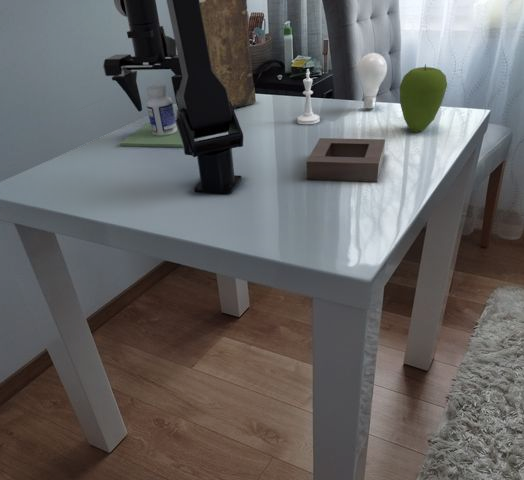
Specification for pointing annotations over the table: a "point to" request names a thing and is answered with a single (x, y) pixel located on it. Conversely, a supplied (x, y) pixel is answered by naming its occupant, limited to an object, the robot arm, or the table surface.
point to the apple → (422, 96)
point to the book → (230, 47)
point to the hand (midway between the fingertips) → (160, 111)
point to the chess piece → (308, 104)
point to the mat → (152, 138)
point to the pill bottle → (160, 111)
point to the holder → (346, 159)
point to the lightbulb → (371, 77)
